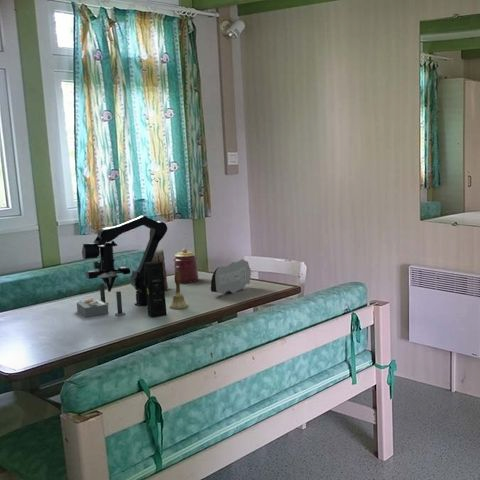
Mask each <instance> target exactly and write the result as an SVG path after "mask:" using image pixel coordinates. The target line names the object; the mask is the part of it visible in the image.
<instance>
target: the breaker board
mask: <svg viewBox="0 0 480 480" xmlns="http://www.w3.org/2000/svg"><path fill="white" fill-rule="evenodd" d="M96 300H97V301H98V303H97V304H95V305H92V306H91V305H90V303H89V302H87V303H86V302H85V300H84V301H79V302H78V301H77V302H76V309H77V310H76V311H77V313H79V314H80V313H81V314H80V315H82V316H83V317H85V318H89V317H94V316H95V317H97V316H103V315H107V314H109V303H108V304H106V303H104V302H103V301H101V299H96Z"/></svg>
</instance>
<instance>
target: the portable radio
mask: <svg viewBox="0 0 480 480" xmlns="http://www.w3.org/2000/svg"><path fill="white" fill-rule="evenodd" d="M144 269H145V272H144V285H145V286H146V294H147V305H146V308H147V316H149V317H151V318H154V317H155V318H157V317H163V316H167V305H166V304H167V303H166V293H165V289H164V276H163V262H161V261H160V259H159V256H158V261H154V262H146V263H144Z"/></svg>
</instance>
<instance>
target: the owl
mask: <svg viewBox="0 0 480 480" xmlns="http://www.w3.org/2000/svg"><path fill="white" fill-rule="evenodd" d="M144 252H145V251H143V252H142V254H143V255H144ZM143 255H142V256H143ZM158 256H159V259H160V261H161V262H163V276H164V289H165V291H167V292H168V291H169V290H168V288H169V286H168V279H167V278H168V277H167V270H166V263H165V253H164V250H163V249H160V250H159V249H158V250H157V249H156V251H155V254H154V257H153V259H152V262H154V261H158Z"/></svg>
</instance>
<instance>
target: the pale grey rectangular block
mask: <svg viewBox="0 0 480 480" xmlns="http://www.w3.org/2000/svg"><path fill="white" fill-rule="evenodd" d="M88 300H94V298H93V297H92V296H91V297H89V298H86V299H84V301H85V302H86V303H87V302H88Z"/></svg>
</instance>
